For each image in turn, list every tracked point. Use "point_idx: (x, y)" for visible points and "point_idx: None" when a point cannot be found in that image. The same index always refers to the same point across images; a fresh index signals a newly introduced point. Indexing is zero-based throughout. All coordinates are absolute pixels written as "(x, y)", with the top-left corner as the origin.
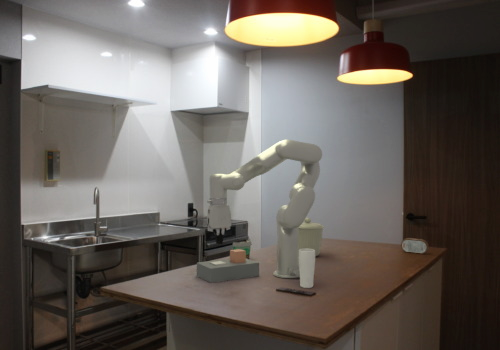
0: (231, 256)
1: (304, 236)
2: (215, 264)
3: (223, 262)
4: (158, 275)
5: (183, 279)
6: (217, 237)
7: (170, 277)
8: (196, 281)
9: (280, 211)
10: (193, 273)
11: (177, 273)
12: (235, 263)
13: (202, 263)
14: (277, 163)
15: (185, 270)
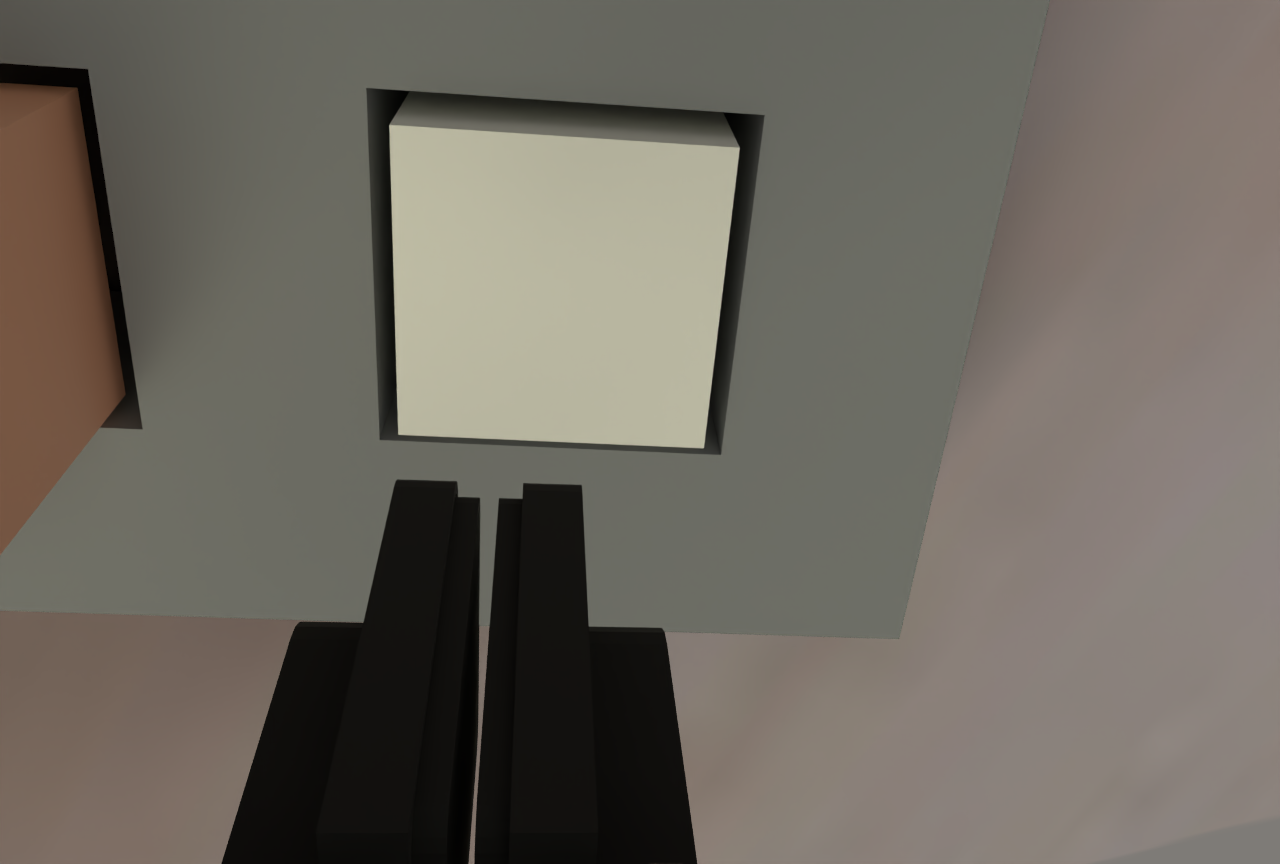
0: (42, 394)
1: None
2: (736, 146)
3: (413, 239)
4: (1260, 779)
5: (1163, 396)
6: (662, 791)
7: (1221, 608)
8: (1092, 137)
9: None
10: (774, 650)
11: (974, 756)
12: (85, 50)
13: (857, 506)
14: None
15: (766, 846)
